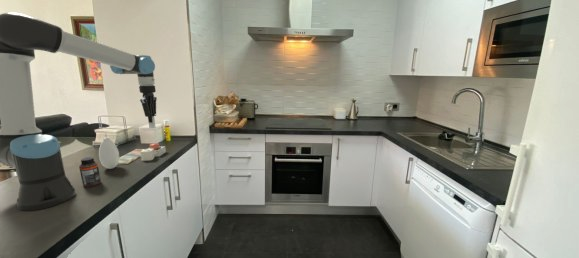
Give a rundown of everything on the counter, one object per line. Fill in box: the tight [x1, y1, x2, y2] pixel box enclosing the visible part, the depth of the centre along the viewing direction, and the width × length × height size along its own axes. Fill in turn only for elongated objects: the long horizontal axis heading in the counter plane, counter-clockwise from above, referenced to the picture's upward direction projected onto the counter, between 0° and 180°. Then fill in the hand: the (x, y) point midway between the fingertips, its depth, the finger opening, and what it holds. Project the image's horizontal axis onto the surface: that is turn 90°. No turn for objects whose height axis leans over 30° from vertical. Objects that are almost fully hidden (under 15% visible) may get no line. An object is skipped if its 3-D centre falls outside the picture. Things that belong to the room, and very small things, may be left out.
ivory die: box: [140, 148, 155, 162], centre depth 132 cm, size 5×5×5 cm
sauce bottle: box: [98, 132, 120, 170], centre depth 117 cm, size 8×8×18 cm
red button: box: [149, 142, 160, 150], centre depth 139 cm, size 5×5×3 cm
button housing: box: [147, 145, 167, 158], centre depth 140 cm, size 8×8×4 cm
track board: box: [116, 148, 144, 166], centre depth 136 cm, size 24×9×1 cm, turn 2°
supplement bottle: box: [78, 156, 102, 188], centre depth 101 cm, size 6×6×11 cm
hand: (152, 127), depth 137 cm, fingers closed
